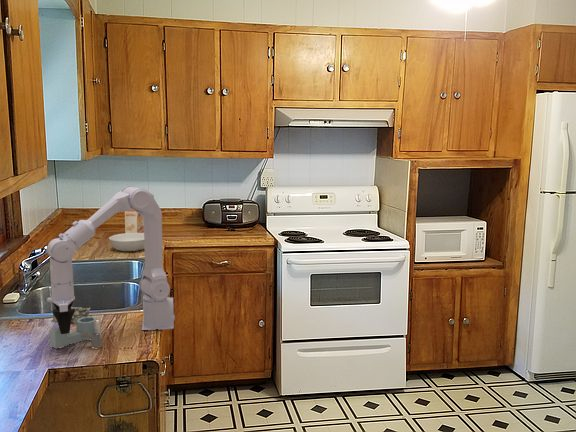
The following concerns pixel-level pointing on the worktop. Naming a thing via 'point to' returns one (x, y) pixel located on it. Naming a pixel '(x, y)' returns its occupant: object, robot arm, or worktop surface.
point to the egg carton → (77, 314)
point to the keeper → (92, 338)
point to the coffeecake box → (134, 222)
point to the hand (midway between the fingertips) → (64, 328)
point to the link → (64, 339)
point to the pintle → (97, 326)
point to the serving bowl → (127, 241)
